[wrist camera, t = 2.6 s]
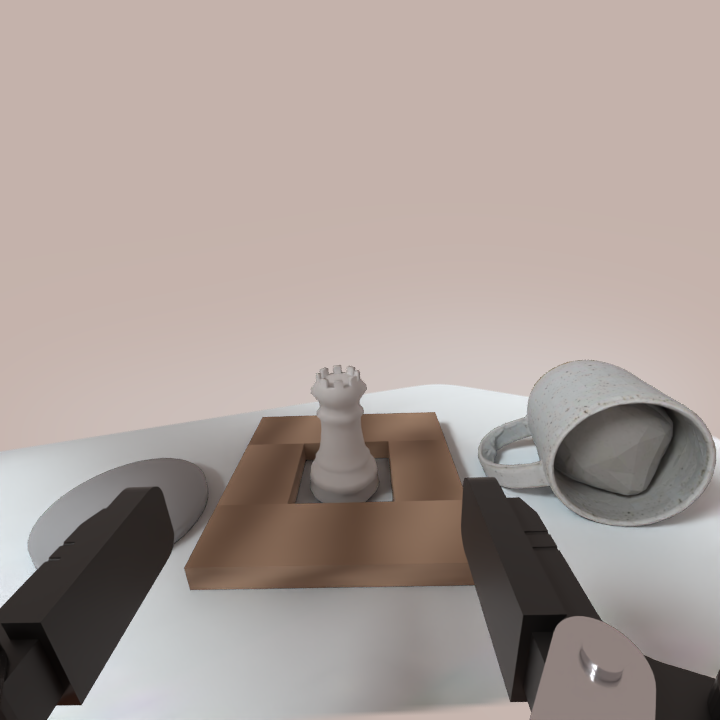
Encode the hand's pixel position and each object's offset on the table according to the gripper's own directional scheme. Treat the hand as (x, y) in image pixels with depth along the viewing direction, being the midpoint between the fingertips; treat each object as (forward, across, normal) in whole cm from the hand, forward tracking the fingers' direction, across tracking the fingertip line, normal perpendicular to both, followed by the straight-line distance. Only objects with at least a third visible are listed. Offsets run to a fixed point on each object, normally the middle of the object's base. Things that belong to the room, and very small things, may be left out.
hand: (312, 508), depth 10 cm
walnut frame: (+12, 0, +9) cm, 15 cm away
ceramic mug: (+12, -14, +9) cm, 21 cm away
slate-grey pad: (+10, +13, +9) cm, 19 cm away
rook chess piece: (+12, 0, +9) cm, 15 cm away
